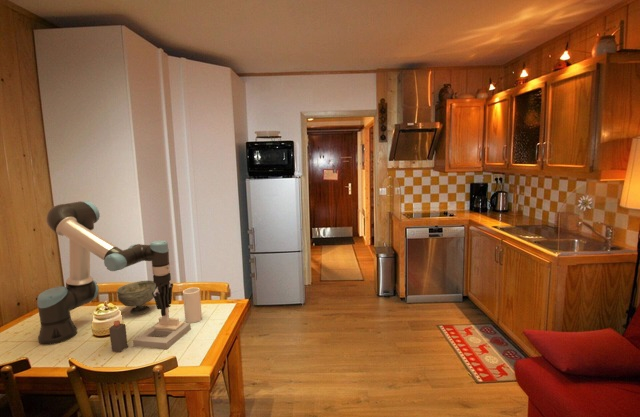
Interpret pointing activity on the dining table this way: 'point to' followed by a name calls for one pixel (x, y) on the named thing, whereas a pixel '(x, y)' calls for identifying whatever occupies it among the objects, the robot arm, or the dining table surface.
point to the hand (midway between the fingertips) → (165, 320)
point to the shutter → (169, 324)
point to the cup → (192, 305)
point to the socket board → (160, 343)
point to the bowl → (137, 296)
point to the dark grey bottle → (118, 337)
